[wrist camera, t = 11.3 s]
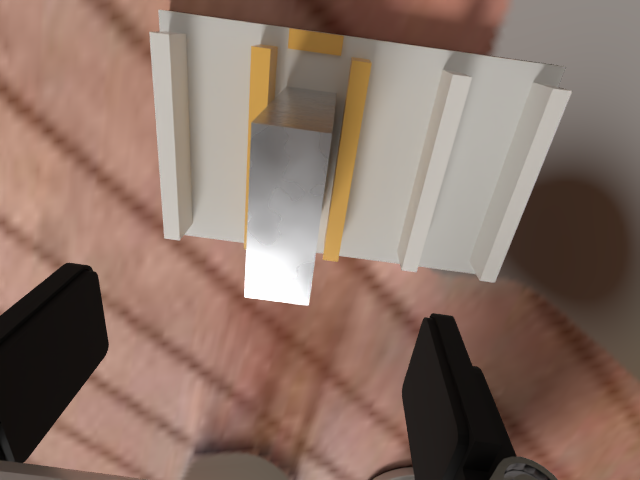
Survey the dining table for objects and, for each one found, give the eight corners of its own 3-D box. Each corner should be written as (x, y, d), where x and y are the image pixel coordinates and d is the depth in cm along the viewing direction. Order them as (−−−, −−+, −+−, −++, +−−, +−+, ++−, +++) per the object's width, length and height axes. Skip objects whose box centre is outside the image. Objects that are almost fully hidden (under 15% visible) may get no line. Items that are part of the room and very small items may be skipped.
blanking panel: (320, 215, 27) (308, 305, 18) (276, 209, 27) (244, 297, 18) (336, 93, 23) (332, 133, 15) (286, 86, 23) (251, 122, 15)
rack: (479, 264, 30) (497, 296, 27) (179, 224, 30) (157, 250, 26) (553, 64, 23) (590, 71, 20) (169, 10, 23) (137, 8, 20)
